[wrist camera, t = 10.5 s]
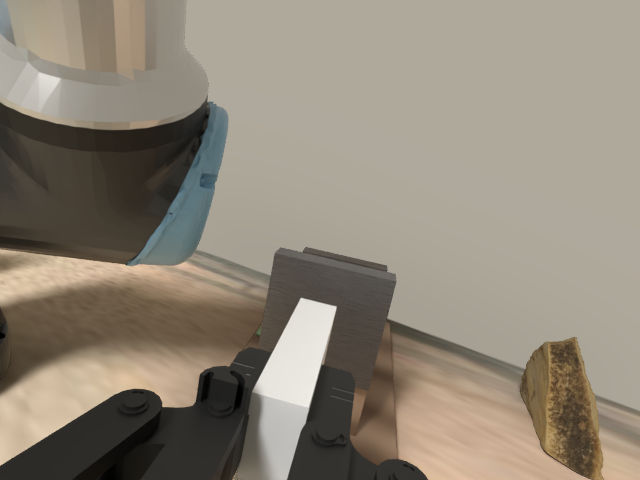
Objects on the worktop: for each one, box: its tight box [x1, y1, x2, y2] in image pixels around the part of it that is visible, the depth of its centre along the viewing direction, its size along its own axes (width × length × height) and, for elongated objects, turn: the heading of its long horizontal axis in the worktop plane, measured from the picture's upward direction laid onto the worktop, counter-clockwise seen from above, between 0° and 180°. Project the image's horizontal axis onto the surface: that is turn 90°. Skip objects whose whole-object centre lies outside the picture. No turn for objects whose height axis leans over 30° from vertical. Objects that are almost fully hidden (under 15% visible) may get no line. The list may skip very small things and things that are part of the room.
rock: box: [521, 337, 604, 480], centre depth 38 cm, size 11×9×10 cm
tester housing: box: [244, 247, 397, 466], centre depth 39 cm, size 24×14×8 cm, turn 172°
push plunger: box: [258, 248, 396, 391], centre depth 32 cm, size 8×8×12 cm
